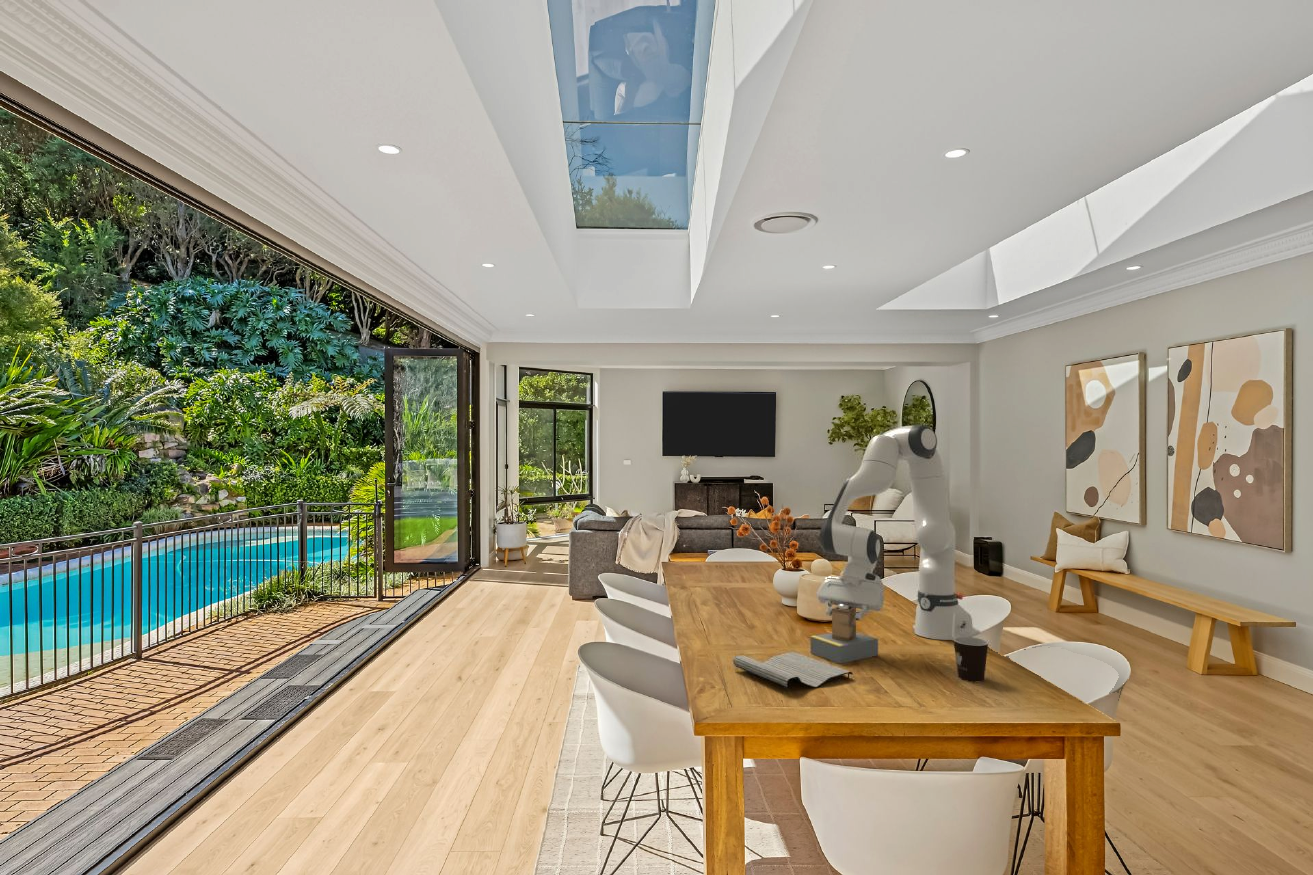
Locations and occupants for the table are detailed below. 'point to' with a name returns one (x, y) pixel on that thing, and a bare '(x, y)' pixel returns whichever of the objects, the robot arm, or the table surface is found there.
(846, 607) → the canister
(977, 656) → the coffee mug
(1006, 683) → the table surface
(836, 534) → the robot arm
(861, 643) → the block
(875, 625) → the table surface
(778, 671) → the mat
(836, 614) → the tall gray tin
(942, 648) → the table surface
